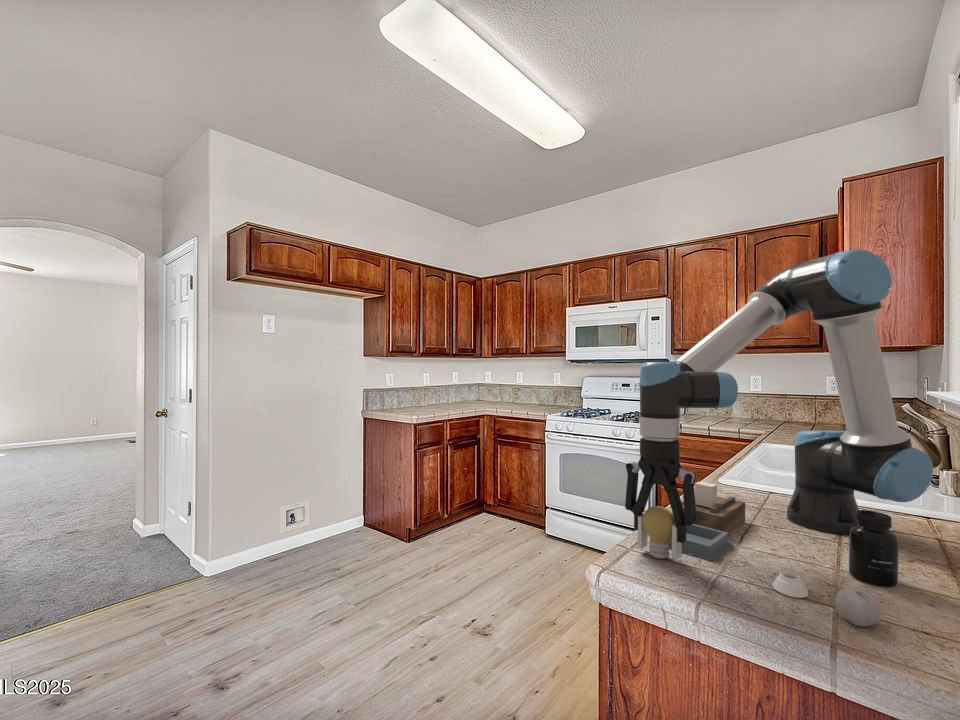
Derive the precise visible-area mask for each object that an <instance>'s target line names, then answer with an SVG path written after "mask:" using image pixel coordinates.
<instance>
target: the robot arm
mask: <svg viewBox="0 0 960 720" xmlns="http://www.w3.org/2000/svg"><path fill="white" fill-rule="evenodd" d="M892 279H893V277H892V274H891V271H890V268H889V267H888V264H887V263H886V261H885V260H883V259H882V257H880V256H879V255H877V254H874V253H873V251H869V250H868V249H859V248H857V249H850V250H844V251H838V252H834V253H833V254H832V253H831V254H828V255H825V256H820V257H817V258H814V259H810V260H807V261H806V260H805V261H801V262H798V263H794V264H793V265H790V266H788V267H787V268H785V269H783V270H782V271H779V272H778V273H777V274H775V275H774V276H772V278H769V279H768V280H767V281H766V282H765V283H764V284H762V285H761V286H759V288H757V289H756V290H755V291H754V292H752V293H751V294H750V295H749V296H748V298H747V302H746V303H745V304H744V305H743V306H742V307H740V309H738V310H737V311H736V312H735V313H733V314H732V315H730V317H728V318H727V319H726V320H725V321H723V322H722V323H721V324H720V325H718V326H717V327H716V328H715V329H714V330H712V331H711V332H709V334H707V335H706V336H704V337H703V339H701V340H699V342H697V343H696V344H695V345H693V347H691V348H690V349H689V350H687V351H686V352H685V353H684V354H683V355H681V356H680V357H679V358H677V359H676V360H675V361H674V362H673V361H670V362H669V361H665V362H664V361H651V362H650V361H647V362H643V363H642V365H641V367H640V373H639V383H638V385H639V435H640V436H641V437H640V439H639V456H640V458H639V460H638V461H637V462H635V461H631V462H627V463H626V464H625V469H626V473H627V478H626V479H627V480H626V481H627V482H626V492H625V502H624V503H625V504H624V505H625V506H624V508H625V510H626V511H630V512H632V514H633V527H634V530H635V531H637V549H639V550H643V549H644V548H646V547H648V534H647V532H646V530H645V529H644V526H643V515H644V513H645V511H646V506H647V503H648V500H649V497H650V495H651V491H652V489H653V486H654V485H655V484H657V485H659V486H661V487H663V489H664V491H665V492H666V496H667V499H668V501H669V506H670V508H671V509H670V510H671V512H672V514H673V515H674V519H675V522H676V524H674V525H672V549H671V560H674V561H677V560H679V558H681V557H682V554H683V552H682V543H683V542H685V541H686V526H691V525H692V524H694V523H696V522H697V517H696V505H695V483H696V482H695V481H696V478H697V474H696V472H694V471H687V470H685V469H683V468H682V466H681V463H680V458H681V456H680V454H681V453H680V451H681V449H680V448H681V445H680V443H681V442H680V441H679V439H678V438H680V435H681V434H680V417H681V415H680V413H681V409H715V410H718V409H723V408H725V409H726V408H730V407H732V406H733V405H734V404H735V403H736V401H737V399H738V397H739V390H738V389H739V386H738V382H737V380H736V379H735V377H734V376H733V375H732V374H731V373H730V372H729V373H728V372H727V371H726V372H723V371H717V370H718V369H720V368H721V367H722V366H723V365H725V364H726V363H727V362H729V361H730V360H731V359H732V358H733V357H734V356H735V355H737V354H738V353H740V351H742V350H743V349H744V348H745V347H747V346H748V345H750V343H752V342H753V341H754V340H755V339H757V337H759V336H760V335H761V334H762V333H764V332H765V331H767V329H769V328H770V327H771V326H777V325H780V324H782V323H783V322H784V321H786V320H787V319H789V318H790V317H792V316H793V317H794V316H795V315H798V314H799V315H800V314H802V313H806V312H811V316H812V320H813V322H814V323H816V324H817V325H820V326H822V327H823V330H824V336H825V338H826V344H827V349H828V351H829V352H828V353H829V357H830V361H831V366H832V369H833V370H832V371H833V375H834V379H835V383H836V388H837V393H838V398H839V402H840V406H841V411H842V415H843V420H844V422H845V423H844V425H845V428H846V430H800V431H799V432H798V433H797V434H796V435H795V444H794V472H795V473H794V474H795V475H794V476H795V478H794V479H795V480H794V482H795V483H794V484H795V486H794V490H793V493H792V495H791V498H790V501H789V503H788V505H787V508H786V518H787V519H788V520H789V521H791V522H792V523H793V524H797V525H798V526H801V527H805V528H808V529H812V530H816V531H820V532H826V533H831V534H832V533H833V534H841V535H850V528H851V527H852V526H853V525H855V524H858V522H857V521H856V518H857V511H858V510H860V508H859V506H858V503H857V500H856V498H855V497H856V496H855V491H856V492H860V493H863V494H867V495H870V496H872V497H873V496H874V497H875V498H878V499H881V500H886V501H891V502H892V501H893V502H897V503H908V502H912V501H915V500H917V499H919V498H920V497H921V496H922V495H923V494H924V493H926V490H927V489H928V488H929V486H930V484H931V482H932V479H933V476H934V466H933V465H934V464H933V461H932V460H931V458H930V456H929V455H928V454H926V452H925V451H923V450H920V449H919V448H917V447H913V444H912V441H911V436H910V434H909V432H907V431H905V430H903V429H901V428H900V427H899V425H898V422H897V417H896V412H895V408H894V403H893V398H892V393H891V389H890V386H889V381H888V375H887V372H886V371H887V370H886V366H885V363H884V357H883V353H882V348H881V344H880V340H879V336H878V331H877V326H876V322H875V318H876V316H877V315H878V314H879V312H880V311H881V310H882V309H883V307H882V302H881V301H883V300H884V299H885V298H886V297H888V295H889V293H890V288H892V283H893V282H892V281H893V280H892ZM640 471H641V472H642V474H643V478H642V481H641V486H640V491H639V493H638V486H639V485H638V484H639V472H640ZM679 476H680V481H681V482H682V497H683V499H681V497H680V494H679V490H678V484H677V480H676V479H677V478H678V477H679ZM637 495H638V496H637ZM681 500H683V501H684V509H683V506H682V503H681ZM684 511H685V512H684Z"/></svg>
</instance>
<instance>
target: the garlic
mask: <svg viewBox="0 0 960 720" xmlns="http://www.w3.org/2000/svg"><path fill="white" fill-rule="evenodd" d="M834 607H835V609H836V611H837V613H838V614H839V615H840V616H841V617H842V618H843V619H845V620H846V621H847V622H849V623H850V624H852V625H854V626H857V627H862V628H863V627H871V626H873V625H875V624H878V623H879V621H880V619H881V610H880V606H879V604H878V602H877V601H876V599H874V598H873V597H872V596H870V595H869V594H868V593H867V592H865V591H863V590H862V589H859V588H858V589H850V588H848V589H845V588H844V589H842V590H839V591H837V593H836V595H835V596H834Z"/></svg>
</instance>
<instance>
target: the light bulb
mask: <svg viewBox="0 0 960 720" xmlns="http://www.w3.org/2000/svg"><path fill="white" fill-rule="evenodd" d="M644 511H645V512H643V514H644V515H643V526H644V529H645V530H646V532H647V536H649V540H648V541H649V542H648V544H649V545H648V546H649V550H648V551H649V554H650V555H651V556H652V557H653V558H655V559H658V560H659V559H660V560H665V559H667V558H668V557H670V548H669V542H668V540H669V539H670V538H671V537H672V525H674V524H676V522H675V519H674V515H673V512H672V510H671V509H668V508H666V507H664V506H659V505H654V506H650V507H648V508H647V509H645V510H644Z"/></svg>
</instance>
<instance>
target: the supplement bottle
mask: <svg viewBox="0 0 960 720" xmlns="http://www.w3.org/2000/svg"><path fill="white" fill-rule="evenodd" d="M892 519H893V518H892V516H891V515H888V514H886V513H882V512H880V511H873V510H867V509H859V510H858V511H857V518H856V521H857V522H858V524H855V525H853V526H852V527H851V528H850V534H848V535H849V537H848V538H849V540H848V541H849V542H848V546H849V547H848V572H849V574H850V576H852V578H854V579H855V580H858V581H860V582H862V583H863V584H864V583H865V584H868V585H871V586H875V587H882V588H894V587H897V585H898V583H899V557H900V556H899V549H900V546H899V545H900V544H899V543H900V541H899V538H898V536H897V534H896V533H895V532H894V531H892V530H891V529H892V528H893V524H892Z"/></svg>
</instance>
